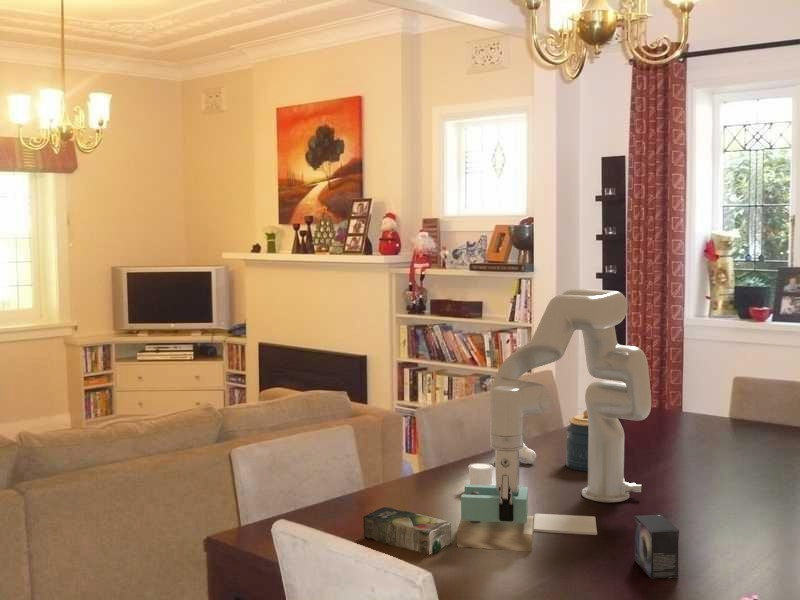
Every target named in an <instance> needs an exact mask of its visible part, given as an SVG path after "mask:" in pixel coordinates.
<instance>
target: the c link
mask: <svg viewBox="0 0 800 600" xmlns="http://www.w3.org/2000/svg"><path fill="white" fill-rule="evenodd" d="M474 491H476V492H478V493H479V494H480V495H470V494H471V493H472V492H474ZM499 503H500V492H497V488H496V484H494V485H492V484H491V485H470V484H465V485H464V494H461V495H460V520H467V521H490V522H511V521H500V520H499ZM512 504H513V521H512V522H513V523H527V516H528V515H529V514H528V512H529V486H520V485H519V490H518V492H517V493H515V492H513V496H512Z"/></svg>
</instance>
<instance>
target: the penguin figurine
mask: <svg viewBox="0 0 800 600" xmlns="http://www.w3.org/2000/svg"><path fill="white" fill-rule="evenodd" d="M536 458H537V454H536V452H535V451H534V450H533V449H531V448H528V446H526V444H525V443H524V442H523V448H522V449H519V459H523V460H525V461H524V463H525V465H527V464H530V465H532V464H533V463H534V462H535V460H536Z"/></svg>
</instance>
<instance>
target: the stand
mask: <svg viewBox="0 0 800 600" xmlns="http://www.w3.org/2000/svg"><path fill="white" fill-rule="evenodd" d="M470 495H480V494H479V493H478V492H476V491H474V492H472V493H471V494H470ZM534 518H535V515H527V523H513V522H490V521H467V520H461V519H460V521H459V524H458V527H457V530H456V532H457V533H456V536H457V537H456V538H457V539H456V544H457V545H456V546H458V547H457V548H464V547H472V548H471V549H482V548H487V549H486V550H499V549H502V551H503V550H504V551H518V552H519V551H520V552H521V551H522V552H533V541H534V532H533V531H534Z"/></svg>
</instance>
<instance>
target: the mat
mask: <svg viewBox="0 0 800 600" xmlns="http://www.w3.org/2000/svg"><path fill="white" fill-rule="evenodd" d="M596 522H597V521H596V516H590V515H589V516H588V515H573V514H572V515H571V514H551V513H549V514H548V513H534V525H533V533H551V534H552V533H553V534H568V535H569V534H573V535H593V536H597V535H598V531H597V530H598V529H597V523H596Z"/></svg>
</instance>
